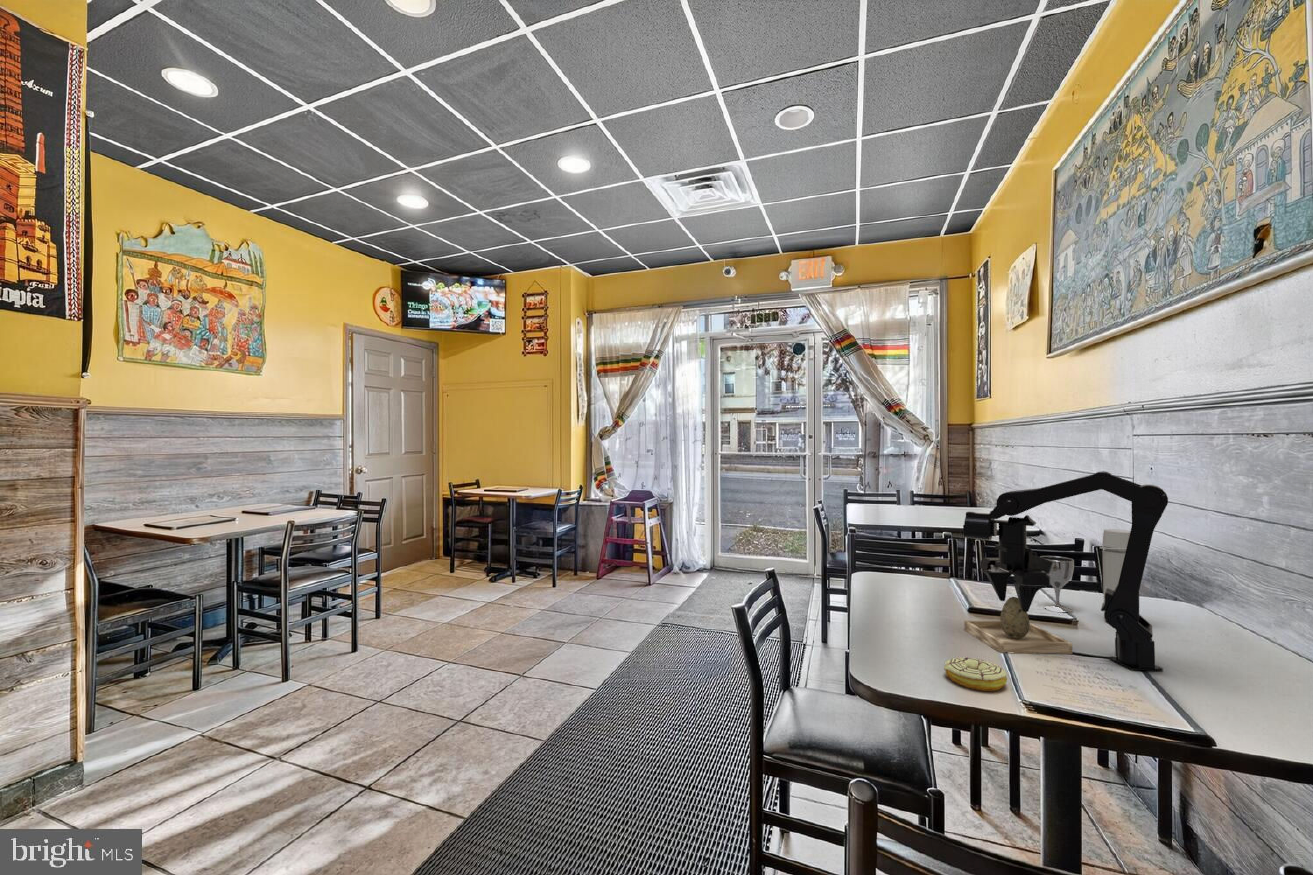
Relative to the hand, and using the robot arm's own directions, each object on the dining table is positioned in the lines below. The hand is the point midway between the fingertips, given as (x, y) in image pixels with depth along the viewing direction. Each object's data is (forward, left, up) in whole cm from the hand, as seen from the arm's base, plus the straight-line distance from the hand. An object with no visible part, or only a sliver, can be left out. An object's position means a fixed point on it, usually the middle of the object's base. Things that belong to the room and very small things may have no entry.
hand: (1013, 605), depth 132 cm
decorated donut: (-24, +22, -9) cm, 34 cm away
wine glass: (+28, -29, -9) cm, 41 cm away
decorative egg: (0, 0, -8) cm, 8 cm away
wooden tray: (0, 0, -9) cm, 9 cm away
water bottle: (+16, -37, -9) cm, 41 cm away
